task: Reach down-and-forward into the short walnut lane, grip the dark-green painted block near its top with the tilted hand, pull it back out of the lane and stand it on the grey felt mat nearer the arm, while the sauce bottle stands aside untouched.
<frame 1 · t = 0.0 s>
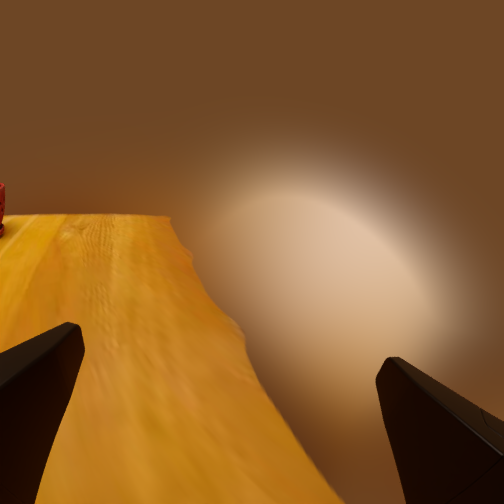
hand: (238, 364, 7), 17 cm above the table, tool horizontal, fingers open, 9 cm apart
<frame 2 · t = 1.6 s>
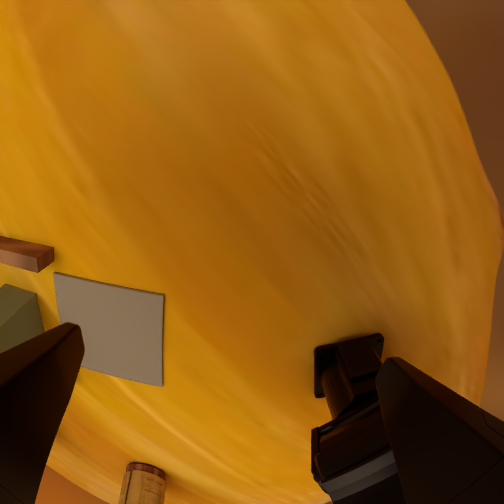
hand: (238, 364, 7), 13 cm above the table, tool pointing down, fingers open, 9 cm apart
green block: (24, 308, 21), on the table
felt mat: (108, 333, 22), on the table
walnut lane: (11, 304, 21), on the table
sauce bottle: (147, 469, 31), on the table
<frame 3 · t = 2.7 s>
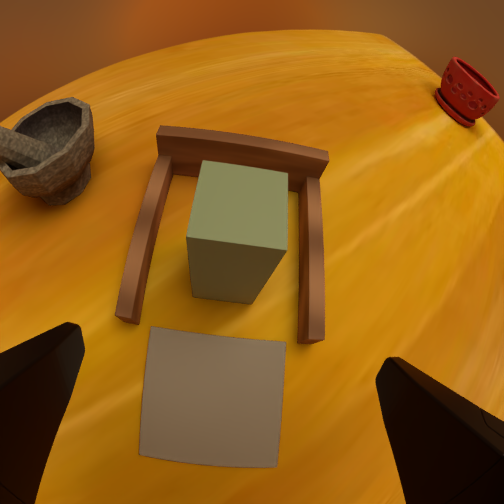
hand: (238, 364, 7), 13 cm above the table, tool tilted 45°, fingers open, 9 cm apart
plant pot: (451, 111, 46), on the table
mortar and pestle: (59, 184, 24), on the table
green block: (225, 273, 23), on the table
felt mat: (212, 402, 18), on the table
walnut lane: (227, 250, 23), on the table
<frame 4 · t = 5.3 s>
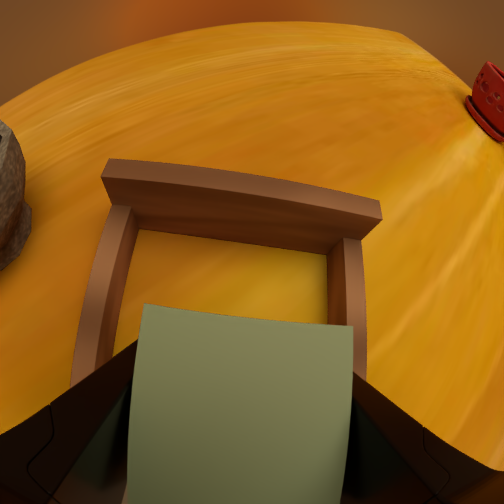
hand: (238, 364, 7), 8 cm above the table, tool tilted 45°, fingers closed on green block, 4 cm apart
plant pot: (482, 123, 37), on the table
green block: (218, 394, 14), on the table, touching gripper
walnut lane: (221, 358, 15), on the table
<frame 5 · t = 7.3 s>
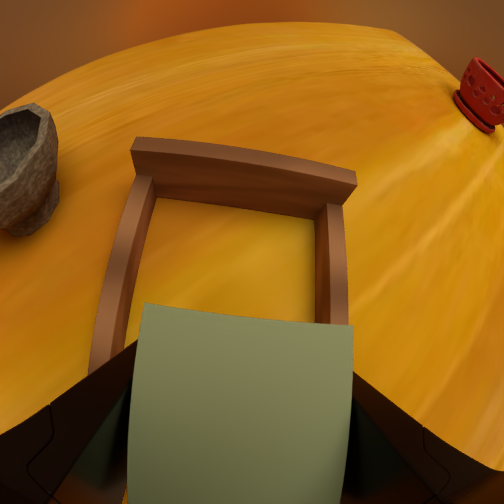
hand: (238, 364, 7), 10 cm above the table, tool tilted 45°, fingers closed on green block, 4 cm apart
plant pot: (470, 116, 40), on the table
mortar and pestle: (25, 209, 18), on the table
green block: (218, 394, 14), point 2 cm above the table, touching gripper
walnut lane: (225, 301, 18), on the table
when the fingers open (9 cm above the table, at t = 9.2 s): green block stays where it is, resting on felt mat.
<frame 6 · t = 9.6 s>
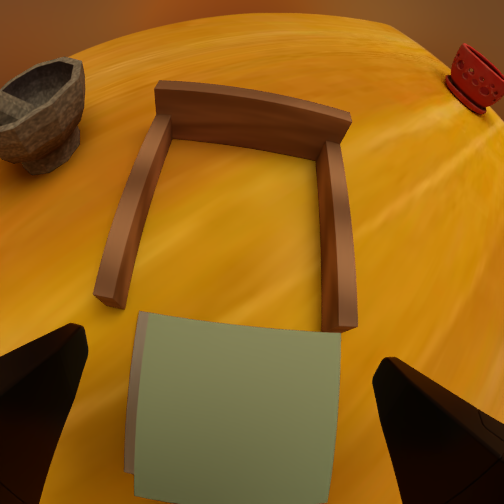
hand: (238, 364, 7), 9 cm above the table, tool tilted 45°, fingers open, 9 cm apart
plant pot: (462, 99, 42), on the table
mortar and pestle: (45, 153, 19), on the table
green block: (218, 394, 14), resting on felt mat
felt mat: (216, 408, 14), on the table
walnut lane: (235, 220, 19), on the table
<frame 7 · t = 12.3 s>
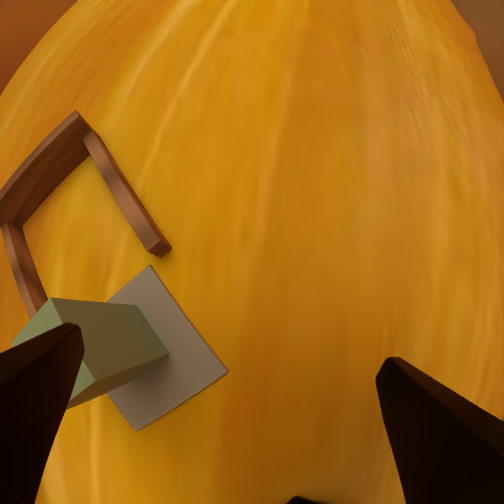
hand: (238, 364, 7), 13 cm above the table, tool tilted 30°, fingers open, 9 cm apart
green block: (132, 344, 20), resting on felt mat
felt mat: (140, 353, 20), on the table
walnut lane: (75, 239, 23), on the table
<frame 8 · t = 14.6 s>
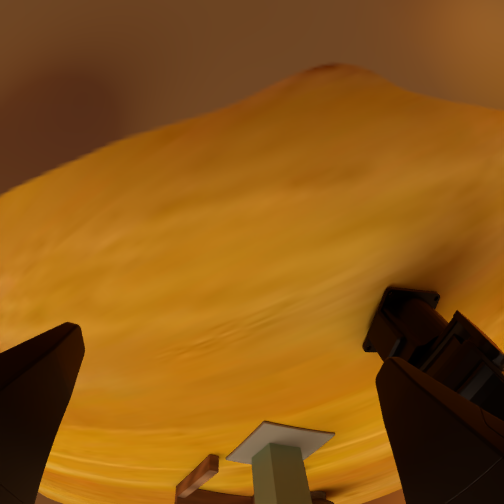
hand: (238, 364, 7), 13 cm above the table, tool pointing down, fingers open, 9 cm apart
mortar and pestle: (312, 495, 38), on the table
green block: (275, 453, 29), resting on felt mat
felt mat: (279, 448, 29), on the table
walnut lane: (237, 480, 33), on the table
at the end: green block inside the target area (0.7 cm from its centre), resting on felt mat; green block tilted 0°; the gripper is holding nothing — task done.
